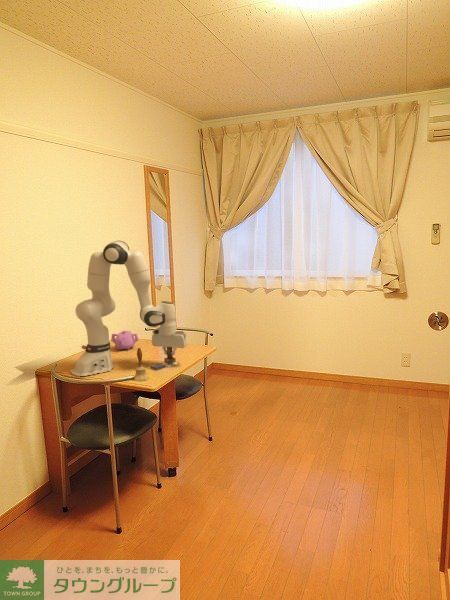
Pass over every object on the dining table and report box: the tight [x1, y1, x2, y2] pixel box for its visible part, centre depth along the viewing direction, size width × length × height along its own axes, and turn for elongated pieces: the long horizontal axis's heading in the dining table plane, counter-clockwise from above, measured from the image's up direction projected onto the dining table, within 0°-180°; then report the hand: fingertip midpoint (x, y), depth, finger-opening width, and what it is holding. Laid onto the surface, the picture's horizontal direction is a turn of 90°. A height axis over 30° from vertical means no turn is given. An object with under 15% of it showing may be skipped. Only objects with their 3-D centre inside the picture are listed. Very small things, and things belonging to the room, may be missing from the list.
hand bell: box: [133, 347, 150, 382], centre depth 206 cm, size 8×8×16 cm
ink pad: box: [149, 363, 167, 371], centre depth 223 cm, size 6×5×1 cm
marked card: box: [160, 361, 181, 368], centre depth 229 cm, size 8×8×1 cm
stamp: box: [163, 347, 177, 364], centre depth 228 cm, size 5×4×9 cm
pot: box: [110, 330, 139, 351], centre depth 262 cm, size 18×17×12 cm
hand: (169, 354), depth 228 cm, fingers closed on stamp, 3 cm apart
